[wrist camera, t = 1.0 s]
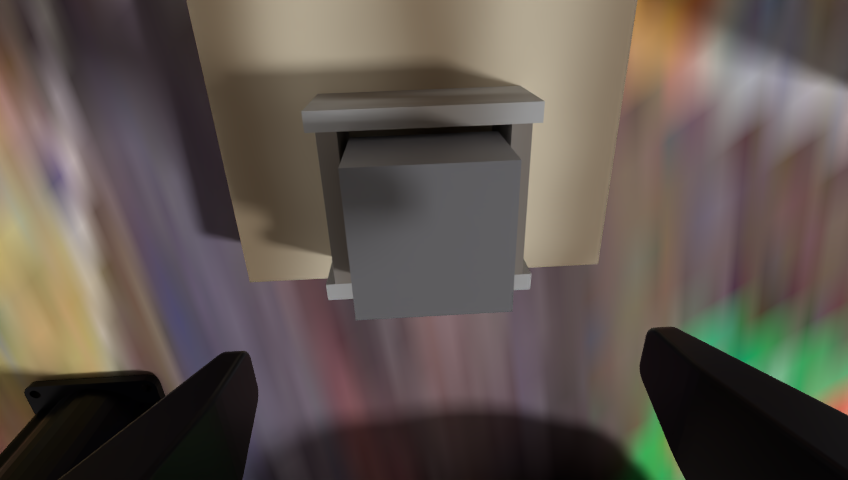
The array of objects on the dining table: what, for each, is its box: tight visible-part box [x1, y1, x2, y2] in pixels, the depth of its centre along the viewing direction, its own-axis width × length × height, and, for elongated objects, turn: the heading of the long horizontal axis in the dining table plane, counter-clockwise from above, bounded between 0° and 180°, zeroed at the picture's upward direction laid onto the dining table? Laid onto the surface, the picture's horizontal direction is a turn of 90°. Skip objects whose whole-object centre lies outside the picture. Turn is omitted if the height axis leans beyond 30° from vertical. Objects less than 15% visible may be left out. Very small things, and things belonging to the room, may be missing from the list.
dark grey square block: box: [338, 131, 522, 320], centre depth 14 cm, size 4×4×3 cm
